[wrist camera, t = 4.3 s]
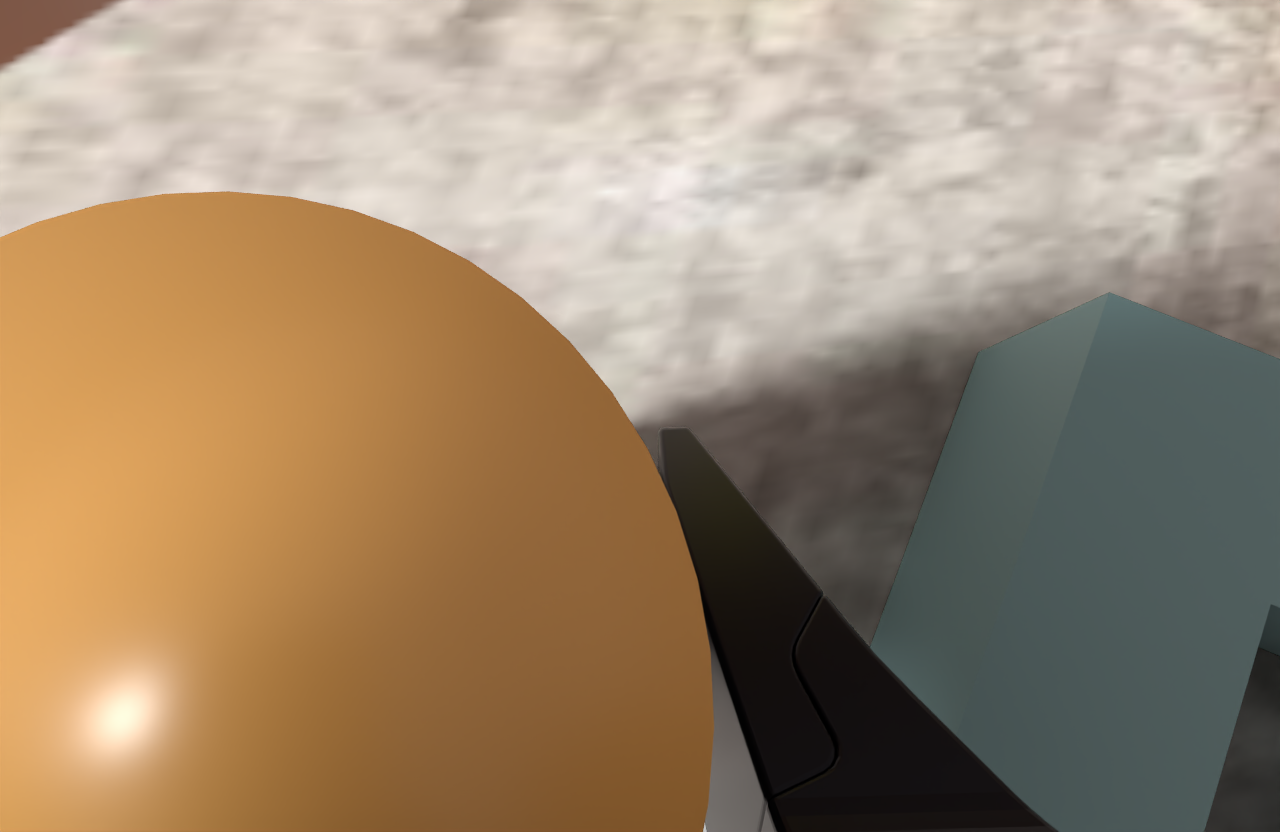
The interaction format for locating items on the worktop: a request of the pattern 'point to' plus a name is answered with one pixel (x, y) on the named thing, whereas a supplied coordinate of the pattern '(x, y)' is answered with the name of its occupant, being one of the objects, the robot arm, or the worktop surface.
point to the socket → (1098, 565)
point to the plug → (325, 542)
